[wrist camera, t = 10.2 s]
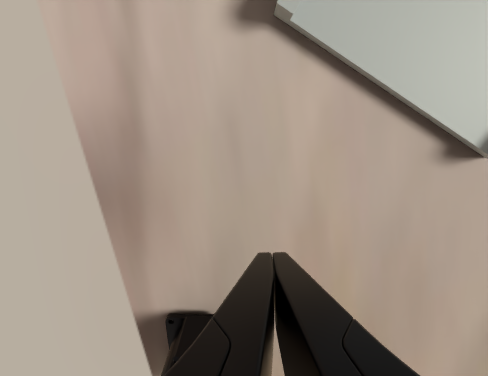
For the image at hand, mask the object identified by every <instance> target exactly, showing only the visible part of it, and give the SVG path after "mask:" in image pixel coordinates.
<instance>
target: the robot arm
mask: <svg viewBox="0 0 488 376" xmlns="http://www.w3.org/2000/svg"><path fill="white" fill-rule="evenodd" d="M274 310H275V324H276V331H277V337H278V343H279V348H280V353H281V358H282V364H283V369H284V374H285V376H420V375H419V374H417V373H416V372H415V371H414V370H412V369H411V368H410V367H409V366H407V365H406V364H405V363H404V362H402V361H401V360H400V359H399V358H398V357H397V356H395V355H394V354H393V353H392V352H391V351H389V350H388V349H387V348H386V347H385V346H383V345H382V344H381V343H380V342H379V341H378V340H377V339H376V338H375V337H373V336H372V335H371V334H370V333H369V332H368V331H367V330H366V329H365V328H364V327H363V326H362V325H361V324H360V323H359V322H358V321H357V320H355V319H353V317H352V316H351V315H350V314H349V313H348V312H347V311H346V310H345V309H344V308H343V307H342V306H341V305H340V304H339V303H338V302H337V301H336V300H335V299H334V298H333V297H331V296H330V295H329V294H328V293H327V292H326V291H325V290H324V289H323V288H322V287H321V286H320V285H319V284H318V283H317V282H316V281H315V280H314V279H313V278H312V277H311V276H310V275H309V274H308V273H307V272H306V271H305V270H304V269H302V268H301V267H300V266H299V265H298V264H297V263H296V262H295V261H294V260H293V259H292V258H291V257H290V256H289V255H288V254H287V253H285V252H275V253H273V256H272V254H271V253H269V252H267V253H258V254H257V255H256V257H255V258H254V259H253V261H252V262H251V264H250V265H249V266H248V268H247V269H246V271H245V272H244V273H243V275H242V276H241V278H240V279H239V280H238V282H237V283H236V285H235V286H234V287H233V289H232V290H231V292H230V293H229V294H228V296H227V297H226V299H225V300H224V301H223V303H222V304H221V306H220V307H219V308H218V310H217V311H216V313H215V314H214V315H185V314H169V315H168V316H167V318H166V329H167V337H168V344H169V353H168V356H167V359H166V362H165V365H164V368H163V371H162V374H161V376H271V374H272V358H273V343H274ZM172 320H173V321H172Z"/></svg>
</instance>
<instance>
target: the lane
mask: <svg viewBox="0 0 488 376" xmlns="http://www.w3.org/2000/svg"><path fill="white" fill-rule="evenodd" d="M274 15H275V16H276V17H278V18H279V19H281V20H282V21H284V22H285V23H287V24H288V25H289V26H291V27H292V28H294V29H295V30H297V31H298V32H300V33H301V34H303V35H304V36H306V37H307V38H309V39H310V40H312V41H313V42H315V43H316V44H318V45H319V46H321V47H322V48H324V49H325V50H327V51H328V52H329V53H331V54H332V55H334V56H335V57H337V58H338V59H340V60H341V61H343V62H344V63H346V64H347V65H349V66H350V67H352V68H353V69H355V70H356V71H358V72H359V73H361V74H362V75H364V76H365V77H367V78H368V79H369V80H371V81H372V82H374V83H375V84H377V85H378V86H380V87H381V88H383V89H384V90H386V91H387V92H389V93H390V94H392V95H393V96H395V97H396V98H398V99H399V100H401V101H402V102H404V103H405V104H406V105H408V106H409V107H411V108H412V109H414V110H415V111H417V112H418V113H420V114H421V115H423V116H424V117H426V118H427V119H429V120H430V121H432V122H433V123H435V124H436V125H438V126H439V127H441V128H442V129H444V130H445V131H446V132H448V133H449V134H451V135H452V136H454V137H455V138H457V139H458V140H460V141H461V142H463V143H464V144H466V145H467V146H469V147H470V148H472V149H473V150H475V151H476V152H478V153H479V154H481V155H482V156H483V157H485V158H488V0H278V1H277V3H276V7H275V11H274Z"/></svg>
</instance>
